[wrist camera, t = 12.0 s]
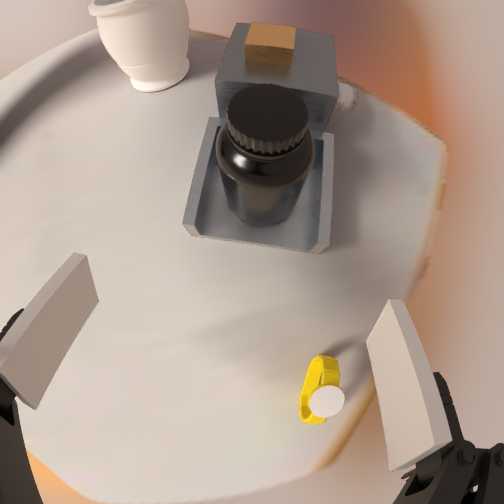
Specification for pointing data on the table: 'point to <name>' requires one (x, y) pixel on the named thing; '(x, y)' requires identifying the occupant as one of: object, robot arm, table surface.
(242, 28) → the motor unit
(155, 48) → the jar
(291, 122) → the supplement bottle
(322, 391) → the watch
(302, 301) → the table surface
